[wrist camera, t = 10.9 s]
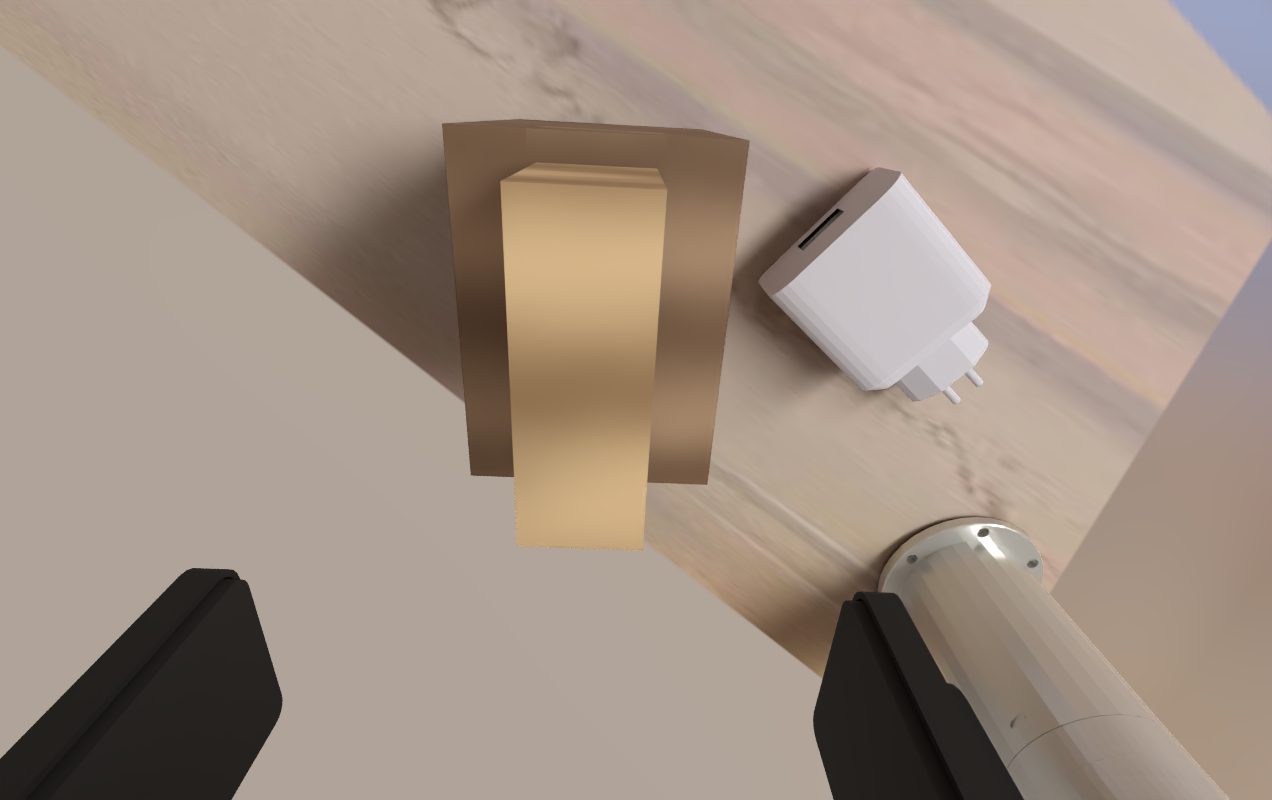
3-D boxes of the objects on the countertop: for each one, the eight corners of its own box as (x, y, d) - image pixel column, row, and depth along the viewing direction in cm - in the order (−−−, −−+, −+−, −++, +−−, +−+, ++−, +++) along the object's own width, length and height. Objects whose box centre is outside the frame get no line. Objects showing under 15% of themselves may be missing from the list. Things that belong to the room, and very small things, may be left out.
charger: (895, 421, 42) (755, 278, 38) (1009, 331, 40) (872, 165, 35) (925, 456, 38) (770, 299, 34) (1055, 358, 35) (906, 172, 31)
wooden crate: (681, 358, 40) (707, 484, 26) (525, 351, 40) (471, 475, 26) (702, 129, 34) (749, 140, 20) (518, 119, 34) (442, 123, 20)
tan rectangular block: (638, 401, 29) (642, 550, 19) (556, 397, 29) (517, 546, 19) (652, 158, 24) (667, 189, 14) (554, 153, 24) (500, 181, 14)
